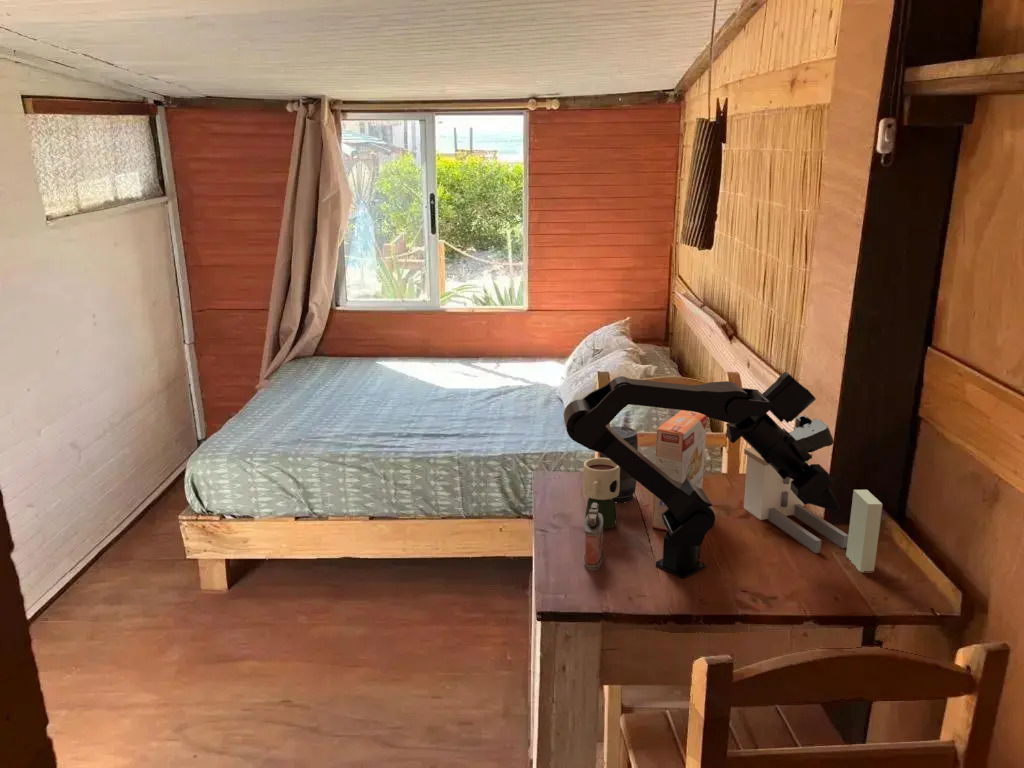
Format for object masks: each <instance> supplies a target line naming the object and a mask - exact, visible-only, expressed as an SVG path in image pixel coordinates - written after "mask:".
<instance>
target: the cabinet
mask: <svg viewBox="0 0 1024 768" xmlns="http://www.w3.org/2000/svg"><path fill="white" fill-rule="evenodd" d="M743 449H744V450H743V454H744V455H746V456H747V457H746V468H745V469H746V470H745V471H746V472H745V485H744V498H743V509H745V510H746V511H747V512H749V513H750V514H751V515H752V516H754V517H755V518H757V519H758V520H760V521H763V520H768V521H769V522H770V523H771V524H773V525H775V526H777V528H779V529H780V530H782V531H783V532H784V533H786V535H789V536H790V537H791V538H793V539H795V540H796V541H797V542H799V543H800V544H801V545H803V546H805V548H807V549H808V550H810V551H812V552H813V553H814V554H819V553H821V546H822V539H821V538H819V537H818V536H816V535H814V534H813V533H811V532H809V530H807V529H805V528H804V527H802V526H801V525H800V524H798V523H797V522H795V521H794V520H792V519H791V518H789V517H788V516H794V517H795V518H796V519H798V520H800V521H801V522H802V523H804V524H805V525H807V526H809V527H810V528H812V529H813V530H815V531H816V532H817V533H819V534H821V535H822V536H823V537H825V538H826V539H828V540H829V541H831V542H833V543H834V544H836V545H837V546H839V547H840V548H841V549H847V542H848V534H847V533H846V532H844V531H843V530H841V529H840V528H838V527H836V526H835V525H833V524H832V523H830V522H828V520H825V519H824V518H822V517H820V515H817V514H816V513H814V512H813V511H811V510H809V509H808V508H806V507H805V504H804V503H803V502H802V501H801V500H800V499H799V498H798V497H797V496H796V495H795V494H794V493H793V492H792V490H791V489H790V488H791V481H793V479H791V478H789V477H786V478H785V479H783V478H782V477H781V476H780V475H779V474H778V473H777V471H776V470H775V469H774V468H773V467H772V466H771V465H770V464H768V463H767V462H766V461H765V460H764V459H763V458H762V457H761V456H760V454H759V453H758V452H757V451H755V450H754V449H753V448H752V447H748V448H743ZM808 453H809V454H810V455H811V456H812V458H810V459H809V460H812V459H813V453H812V452H808ZM809 460H808V461H805V462H806V463H807V464H808V465H809Z"/></svg>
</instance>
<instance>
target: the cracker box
mask: <svg viewBox="0 0 1024 768" xmlns="http://www.w3.org/2000/svg"><path fill="white" fill-rule="evenodd" d="M707 425H708V416H706V415H704V414H701V413H698V412H694V411H686V410H681V411H680V412H678V413H677V414H676V415H675V416H673V417H672V418H671V419H669V420H668V421H667V422H665V423H664V424H663V425H662V426H661V425H659V427H658V428H656V439H655V440H656V441H655V460H654V465H656V466H657V467H658V468H659V469H661V470H662V471H663V472H664V473H665V474H667V475H668V476H669V477H670V478H672V479H673V480H675V481H677V482H681V483H683V482H684V480H685V479H686V478H688V479H689V480H690V481H691V482H692V483H693V484H694V485H695V486H696V487H698V488H701V489H703V483H704V482H703V481H704V469H705V467H704V466H705V456H706V455H705V451H706V441H707V440H706V438H707ZM652 495H653V498H652V517H651V518H652V519H651V527H652V528H656V529H659V530H664V531H667V528H666V526H665V524H664V522H663V519H662V516H661V515H662V514H663V513H664V512H665V511H666V510H667V509H668V508H667V506H666V505H665V504H664V503H663V501H661V500H660V499H659V498H658V497H656V496H655V495H654V494H652Z"/></svg>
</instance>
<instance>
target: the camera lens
mask: <svg viewBox="0 0 1024 768" xmlns="http://www.w3.org/2000/svg"><path fill="white" fill-rule="evenodd" d="M611 428H612V429H613V430H614V432H615V433H616V434H618V435H619V436H620V437H621V438H623V439H624V440H625V441H626V442H627V443H629V444H630V445H631V446H632V447H634V448H635V449H636V450H637V451H638V450H639V449H638V448H639V447H638V442H639V437H638V434H637V430H636V429H633V428H631V427H627V426H621V425H620V426H617V425H616V426H611ZM598 454H599V458H608V457H607V456H605V455H604V454H602V453H599V452H598ZM636 487H637V481H636V480H635V479H634V478H633V477H631V476H630V475H629V474H628V473H627V472H625V471H624V470H623V469H622V468H620V487H619V495H618V496H617V497H615V498H613V499H614V502H617V503H616V504H619V503H620V504H625V503H624V502H627V503H629V502H628V501H630V500H631V501H632V500H633V499H634V493H635V492H636ZM632 498H633V499H632ZM631 501H630V502H631Z"/></svg>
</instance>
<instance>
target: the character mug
mask: <svg viewBox="0 0 1024 768" xmlns="http://www.w3.org/2000/svg"><path fill="white" fill-rule="evenodd" d="M582 484H583V485H582V486H583V495H585V497H587V498H588V499H587V503H586V509H585V516H584V519H585V518H586V516H587V515H588V514H589V509H591V505H592V504H593V503H597V504H598V513H600V514H602V516H603V530H605V529H611V528H614V527H615V526H616V524H617V523H618V521H617V520H618V519H617V509H616V503H615V502H614V499H613V498H615V497H617V496H618V495H619V487H620V467H619V466H618V465H617V464H615V463H614V462H613V461H612V460H610V459H609V458H600V457H594V458H589V459H587V460H585V461H584V462H583V483H582Z"/></svg>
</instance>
